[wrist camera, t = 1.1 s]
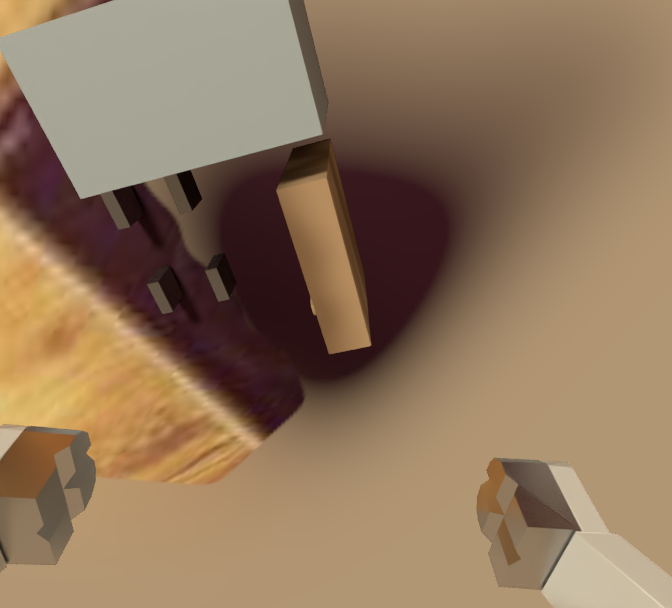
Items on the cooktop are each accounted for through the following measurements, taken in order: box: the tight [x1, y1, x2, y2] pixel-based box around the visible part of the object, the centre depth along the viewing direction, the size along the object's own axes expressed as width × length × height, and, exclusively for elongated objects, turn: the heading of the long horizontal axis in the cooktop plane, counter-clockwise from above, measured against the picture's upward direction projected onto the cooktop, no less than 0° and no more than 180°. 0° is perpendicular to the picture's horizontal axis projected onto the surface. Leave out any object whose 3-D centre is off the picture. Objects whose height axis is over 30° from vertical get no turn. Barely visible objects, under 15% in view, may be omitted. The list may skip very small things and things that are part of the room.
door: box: [276, 139, 371, 354], centre depth 34 cm, size 4×12×11 cm, turn 14°
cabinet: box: [0, 0, 328, 199], centre depth 28 cm, size 14×8×12 cm, turn 104°
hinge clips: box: [100, 170, 236, 314], centre depth 39 cm, size 6×11×3 cm, turn 14°
